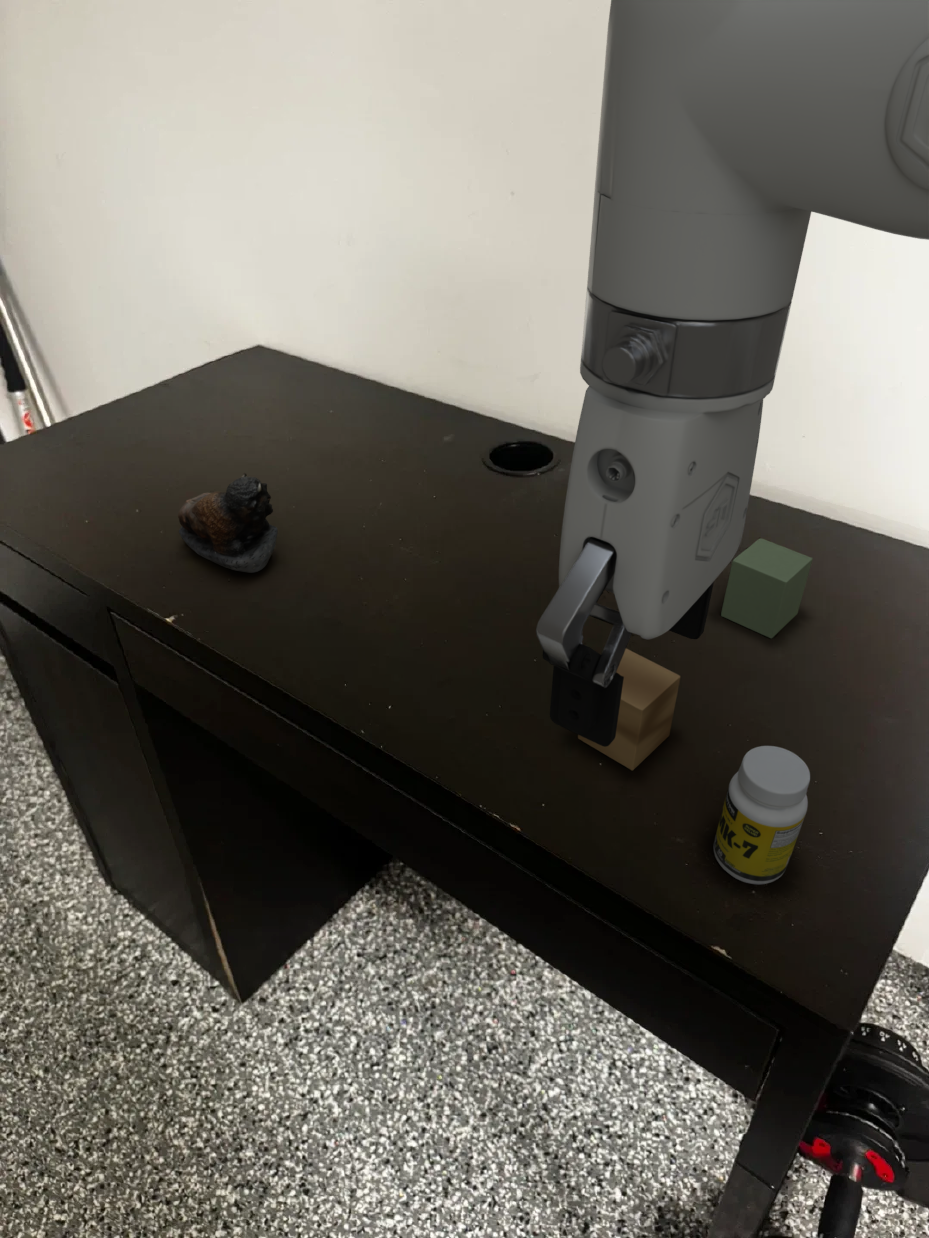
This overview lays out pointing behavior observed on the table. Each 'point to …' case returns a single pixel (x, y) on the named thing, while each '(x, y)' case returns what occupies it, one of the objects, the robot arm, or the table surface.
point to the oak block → (641, 710)
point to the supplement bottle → (762, 815)
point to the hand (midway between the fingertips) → (630, 676)
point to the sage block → (765, 587)
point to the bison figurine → (231, 525)
